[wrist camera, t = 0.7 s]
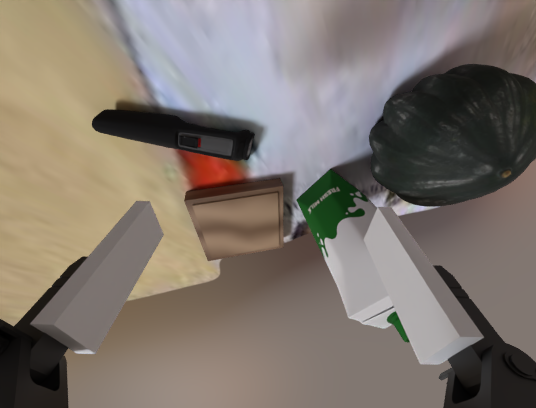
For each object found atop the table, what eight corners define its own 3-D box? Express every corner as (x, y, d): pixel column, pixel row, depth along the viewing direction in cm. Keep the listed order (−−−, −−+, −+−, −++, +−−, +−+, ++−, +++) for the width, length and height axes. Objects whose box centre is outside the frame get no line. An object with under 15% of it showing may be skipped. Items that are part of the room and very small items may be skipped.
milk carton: (321, 223, 37) (393, 353, 22) (287, 200, 32) (349, 347, 17) (362, 190, 34) (479, 316, 19) (331, 159, 29) (455, 295, 14)
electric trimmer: (101, 95, 20) (85, 103, 18) (255, 129, 25) (259, 139, 22) (108, 132, 22) (94, 144, 20) (248, 157, 27) (251, 169, 25)
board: (186, 191, 28) (184, 202, 26) (279, 178, 30) (283, 187, 28) (208, 251, 36) (208, 262, 35) (280, 238, 38) (283, 248, 36)
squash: (490, 170, 29) (675, 150, 14) (384, 218, 32) (444, 243, 17) (439, 82, 29) (565, -26, 15) (340, 138, 33) (361, 96, 18)
